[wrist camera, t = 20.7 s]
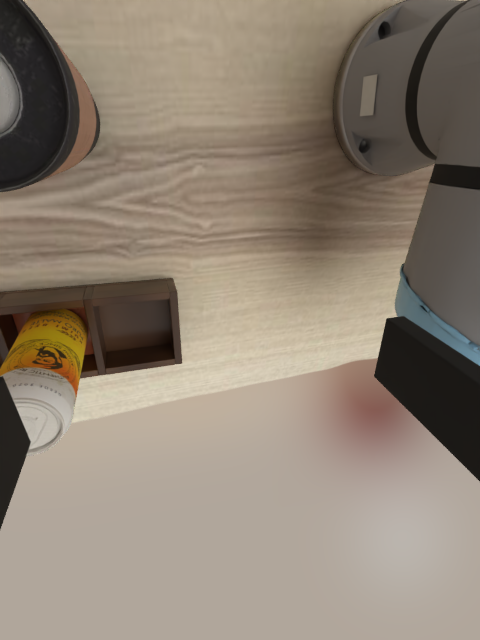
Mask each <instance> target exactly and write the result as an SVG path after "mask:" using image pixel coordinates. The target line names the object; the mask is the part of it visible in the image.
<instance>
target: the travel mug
mask: <svg viewBox="0 0 480 640" xmlns="http://www.w3.org/2000/svg"><path fill="white" fill-rule="evenodd" d="M99 132H100V119H99V114H98V110H97V107H96V104H95V102H94V100H93V97H92V95H91V93H90V91H89V89H88V86H87V84H86V83H85V81H84V79H83V78H82V76H81V74H80V73H79V72H78V70H77V69H76V68H75V66H74V65H73V64H72V62H71V61H70V60H69V58H68V57H67V56H66V54H65V53H64V52H63V50H62V49H61V48H60V46H59V45H58V44H57V43H56V41H55V40H54V39H53V37H52V36H51V35H50V33H49V32H48V31H47V29H46V28H45V27H44V25H43V24H42V23H41V21H40V20H39V19H38V17H37V16H36V15H35V14H34V12H33V11H32V10H31V9H30V8H29V7H28V6H27V5H26V3H25V2H24V1H23V0H0V192H6V191H12V190H16V189H21V188H23V187H26V186H29V185H31V184H34V183H36V182H39V181H41V180H43V179H46V178H48V177H51V176H53V175H55V174H58V173H60V172H63V171H65V170H68V169H70V168H71V167H73V166H75V165H76V164H78V163H79V162H80V161H82V160H83V159H84V158H85V157H86V156H87V155H88V154H89V153H90V152H91V151H92V150H93V148H94V147H95V145H96V143H97V140H98V137H99Z"/></svg>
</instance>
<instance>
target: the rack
mask: <svg viewBox="0 0 480 640" xmlns="http://www.w3.org/2000/svg"><path fill="white" fill-rule="evenodd" d="M59 309H67V310H69V311H72V312H73V313H75V314H77V315H78V316H79V317H80V318H81V319H82V320H83V321H84V323H85V325H86V327H87V331H88V337H87V343H86V348H85V353H84V359H83V364H82V369H81V375H80V378H86V377H92V376H98V375H106V374H114V373H120V372H127V371H134V370H141V369H148V368H154V367H161V366H168V365H175V364H181V363H182V354H181V340H180V326H179V312H178V298H177V290H176V287H175V284H174V281H173V278H169V279H157V280H145V281H132V282H120V283H108V284H96V285H83V286H71V287H59V288H46V289H34V290H22V291H9V292H0V368H1V366H2V364H3V363H4V361H5V359H6V357H7V355H8V353H9V352H10V350H11V348H12V346H13V344H14V342H15V341H16V339H17V337H18V335H19V333H20V331H21V330H22V328H23V326H24V324H25V322H26V320H27V319H28V318H29V317H30V316H31V315H32V314H33V313H35V312H39V311H49V310H59Z"/></svg>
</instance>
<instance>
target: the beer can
mask: <svg viewBox="0 0 480 640" xmlns="http://www.w3.org/2000/svg"><path fill="white" fill-rule="evenodd" d="M87 337H88V331H87V327H86V325H85V323H84V321H83V320H82V319H81V318H80V317H79V316H78V315H77V314H75V313H73V312H72V311H69V310H67V309H59V310H49V311H39V312H35V313H33V314H32V315H31V316H30V317H29V318H28V319H27V320H26V322H25V324H24V326H23V328H22V330H21V331H20V333H19V335H18V337H17V339H16V341H15V342H14V344H13V346H12V348H11V350H10V352H9V353H8V355H7V357H6V359H5V361H4V363H3V364H2V366H1V368H0V377H1V376H3V377H4V380H5V382H6V384H7V387H8V389H9V392H10V394H11V396H12V399H13V401H14V403H15V406H16V408H17V410H18V413H19V415H20V417H21V420H22V422H23V425H24V427H25V429H26V432H27V434H28V436H29V439H30V441H31V444H30V447H29V450H28V452H27V455H26V456H31V455H36V454H39V453H42V452H45V451H46V450H49V449H50V448H52V447H53V446H54V445H55V444H56V443H58V441H59V440H60V439H61V437H62V436H63V435H64V434H65V433H66V432H67V430H68V429H69V427H70V425H71V422H72V417H73V412H74V407H75V401H76V396H77V391H78V385H79V380H80V375H81V369H82V364H83V359H84V353H85V348H86V343H87Z"/></svg>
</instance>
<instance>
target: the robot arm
mask: <svg viewBox="0 0 480 640" xmlns="http://www.w3.org/2000/svg"><path fill="white" fill-rule="evenodd" d="M333 114H334V124H335V129H336V134H337V137H338V140H339V142H340V145H341V147H342V149H343V151H344V153H345V154H346V155H347V157H348V158H349V159H350V160H351V162H352V163H354V164H355V165H356V166H357V167H359V168H360V169H362V170H364V171H366V172H369V173H372V174H377V175H384V176H397V175H402V174H406V173H409V172H412V171H415V170H418V169H421V168H423V167H426V166H429V165H432V164H435V166H434V169H433V172H432V176H431V179H430V182H429V185H428V188H427V192H426V195H425V198H424V202H423V205H422V208H421V212H420V215H419V218H418V221H417V225H416V228H415V231H414V234H413V238H412V241H411V244H410V247H409V251H408V254H407V257H406V261H405V263H404V264H402V266H401V269H400V276H401V278H400V282H399V286H398V290H397V295H396V299H395V310H396V313H397V316H398V317H394V318H387V320H386V324H385V329H384V333H383V338H382V342H381V347H380V352H379V356H378V361H377V365H376V370H375V374H374V376H375V378H377V380H378V381H379V382H380V383H381V384H383V386H384V387H385V388H386V389H387V390H388V391H389V392H390V393H391V394H392V395H393V396H394V397H395V398H397V399H398V400H399V402H400V403H401V404H402V405H404V406H405V407H406V409H408V411H410V412H411V413H412V414H413V415H414V416H415V417H416V418H417V419H418V420H419V421H420V422H421V423H422V424H423V425H424V426H425V427H426V428H427V429H428V430H429V431H430V432H431V433H432V434H433V435H434V436H435V437H436V438H437V439H438V440H439V441H440V442H441V443H442V444H443V445H444V446H445V447H446V448H447V449H448V450H449V451H450V452H451V453H452V454H453V455H454V456H455V457H456V458H457V459H458V460H459V461H460V462H461V463H462V464H463V465H464V466H465V467H466V468H467V469H468V470H469V471H470V472H471V473H472V474H473V475H474V476H475V477H476V478H477V479H478V480H479V481H480V0H467V1H455V0H406V1H403V2H400V3H398V4H396V5H394V6H393V7H391V8H389V9H387V10H385V11H383V12H381V13H380V14H378V15H377V16H375V17H374V18H373V19H372V20H371V21H369V22H368V23H367V24H366V25H365V26H364V27H363V29H362V30H361V31H360V32H359V33H358V35H357V36H356V38H355V39H354V41H353V42H352V44H351V45H350V47H349V49H348V51H347V53H346V55H345V57H344V59H343V62H342V64H341V67H340V70H339V73H338V77H337V81H336V86H335V92H334V102H333ZM30 444H31V441H30V439H29V436H28V434H27V432H26V429H25V427H24V425H23V422H22V420H21V417H20V415H19V413H18V410H17V408H16V406H15V403H14V401H13V399H12V396H11V394H10V392H9V389H8V387H7V384H6V382H5V380H4V377H3V376H1V377H0V529H1V526H2V523H3V520H4V517H5V515H6V512H7V509H8V506H9V503H10V500H11V498H12V495H13V492H14V489H15V486H16V483H17V480H18V478H19V475H20V472H21V469H22V466H23V464H24V461H25V458H26V455H27V452H28V450H29V447H30Z"/></svg>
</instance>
